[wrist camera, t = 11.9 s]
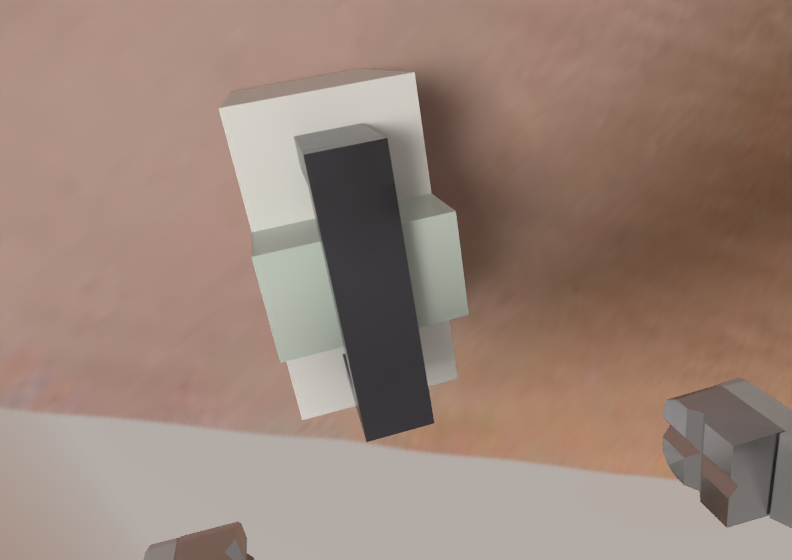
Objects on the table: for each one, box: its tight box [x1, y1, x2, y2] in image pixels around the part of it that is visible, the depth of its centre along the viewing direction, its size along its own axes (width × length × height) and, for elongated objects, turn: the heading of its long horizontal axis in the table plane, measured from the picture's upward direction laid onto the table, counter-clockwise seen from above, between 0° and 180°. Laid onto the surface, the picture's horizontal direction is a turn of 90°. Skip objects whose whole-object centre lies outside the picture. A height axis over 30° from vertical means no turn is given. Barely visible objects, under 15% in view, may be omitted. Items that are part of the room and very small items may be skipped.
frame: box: [294, 123, 434, 442], centre depth 21 cm, size 10×2×4 cm, turn 9°
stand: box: [219, 69, 469, 420], centre depth 27 cm, size 13×7×15 cm, turn 9°
